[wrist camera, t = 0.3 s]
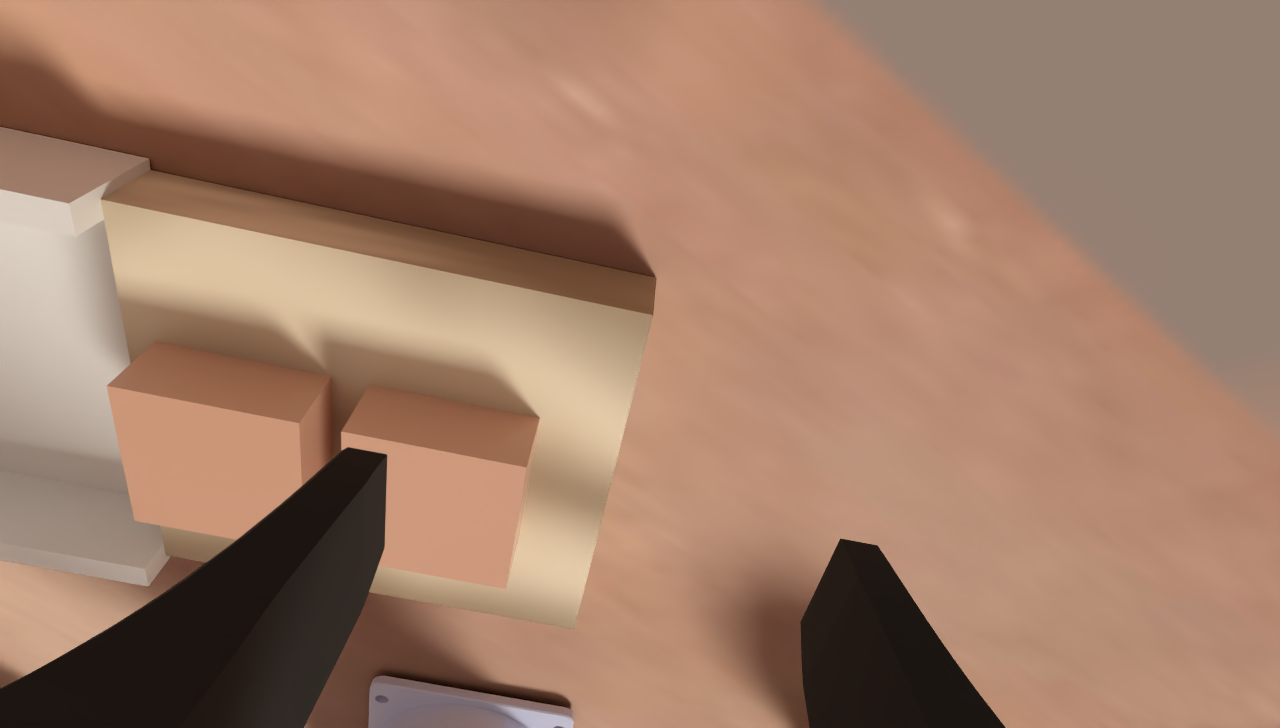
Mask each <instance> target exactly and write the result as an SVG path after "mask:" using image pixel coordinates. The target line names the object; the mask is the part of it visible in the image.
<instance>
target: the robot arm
mask: <svg viewBox="0 0 1280 728" xmlns="http://www.w3.org/2000/svg"><path fill="white" fill-rule="evenodd" d="M386 484H387V454H383V453H377V452H372V451H366V450H361V449H356V448H350V447H347V448H345V449H344V450H342V451H340V452H339V453H338V454H337V455H336V456H335V457H334V458H332V459H331V460H330V461H329V462H328V463H327V464H326V465H325V466H324V467H323V468H321V469H320V470H319V471H318V472H317V473H316V474H315V475H314V476H313V477H311V478H310V479H309V480H308V481H307V482H306V483H305V484H304V485H302V486H301V487H300V488H299V489H298V490H297V491H295V492H294V493H293V494H292V495H291V496H290V497H288V498H287V499H286V500H285V501H284V502H283V503H281V504H280V505H279V506H278V507H277V508H275V509H274V510H273V511H272V512H271V513H269V514H268V515H267V516H266V517H264V518H263V519H262V520H261V521H259V522H258V523H257V524H256V525H255V526H253V527H252V528H251V529H250V530H248V531H247V532H246V533H245V534H244V535H242V536H241V537H240V538H238V539H237V540H236V541H235V542H233V543H232V544H231V545H229V546H228V547H227V548H225V549H224V550H223V551H221V552H220V553H219V554H217V555H216V556H215V557H213V558H212V559H210V560H209V561H208V562H206V563H205V564H204V565H202V566H201V567H200V568H198V569H197V570H196V571H194V572H193V573H191V574H190V575H189V576H187V577H186V578H185V579H183V580H182V581H180V582H179V583H178V584H176V585H175V586H173V587H172V588H170V589H169V590H167V591H166V592H164V593H163V594H161V595H160V596H158V597H157V598H155V599H154V600H152V601H151V602H149V603H148V604H146V605H145V606H143V607H142V608H140V609H139V610H137V611H135V612H134V613H132V614H131V615H129V616H128V617H126V618H124V619H123V620H121V621H120V622H118V623H117V624H115V625H113V626H112V627H110V628H108V629H107V630H105V631H103V632H102V633H100V634H98V635H96V636H95V637H93V638H91V639H90V640H88V641H86V642H84V643H83V644H81V645H79V646H78V647H76V648H74V649H72V650H71V651H69V652H67V653H66V654H64V655H62V656H60V657H59V658H57V659H55V660H53V661H52V662H50V663H48V664H46V665H44V666H43V667H41V668H39V669H37V670H35V671H33V672H32V673H30V674H28V675H26V676H24V677H22V678H20V679H19V680H17V681H15V682H13V683H11V684H9V685H7V686H5V687H3V688H1V689H0V728H304V726H305V724H306V722H307V720H308V718H309V716H310V714H311V712H312V710H313V708H314V706H315V704H316V702H317V700H318V698H319V696H320V694H321V692H322V690H323V688H324V686H325V684H326V682H327V680H328V678H329V676H330V674H331V672H332V670H333V668H334V666H335V664H336V662H337V660H338V658H339V656H340V654H341V652H342V650H343V648H344V646H345V644H346V641H347V639H348V637H349V635H350V633H351V631H352V629H353V627H354V625H355V623H356V621H357V619H358V617H359V615H360V613H361V611H362V609H363V606H364V604H365V601H366V598H367V596H368V593H369V590H370V587H371V585H372V582H373V579H374V576H375V574H376V571H377V568H378V565H379V562H380V559H381V557H382V554H383V551H384V548H385V518H386ZM801 650H802V673H803V687H804V694H805V701H806V707H807V713H808V720H809V726H810V728H1005V726H1004V725H1003V724H1002V723H1001V721H1000V720H999V719H998V717H997V716H996V715H995V714H994V712H993V711H992V710H991V708H990V707H989V706H988V705H987V703H986V702H985V701H984V699H983V698H982V697H981V696H980V694H979V693H978V692H977V690H976V689H975V688H974V686H973V685H972V684H971V682H970V681H969V679H968V678H967V677H966V675H965V674H964V673H963V671H962V670H961V669H960V667H959V666H958V664H957V663H956V662H955V660H954V659H953V657H952V656H951V655H950V653H949V652H948V650H947V649H946V647H945V646H944V644H943V643H942V642H941V640H940V639H939V637H938V636H937V634H936V633H935V631H934V630H933V628H932V627H931V626H930V624H929V623H928V621H927V620H926V618H925V617H924V615H923V614H922V612H921V611H920V609H919V608H918V606H917V605H916V603H915V602H914V600H913V599H912V597H911V596H910V594H909V592H908V591H907V589H906V588H905V586H904V585H903V583H902V582H901V580H900V579H899V577H898V576H897V574H896V573H895V571H894V570H893V568H892V567H891V565H890V563H889V562H888V560H887V559H886V557H885V556H884V554H883V553H882V552H881V550H880V549H879V547H878V546H877V545H872V544H866V543H861V542H856V541H850V540H845V539H840V541H839V543H838V545H837V547H836V549H835V551H834V553H833V555H832V557H831V560H830V562H829V564H828V566H827V568H826V570H825V572H824V574H823V576H822V578H821V581H820V583H819V585H818V587H817V589H816V591H815V593H814V595H813V597H812V599H811V602H810V604H809V606H808V608H807V610H806V612H805V614H804V616H803V618H802V621H801ZM574 717H575V716H574V713H573V711H572V710H570V709H569V708H566V707H562V706H556V705H550V704H544V703H539V702H533V701H527V700H522V699H516V698H510V697H504V696H499V695H493V694H487V693H482V692H476V691H470V690H464V689H459V688H453V687H447V686H441V685H436V684H430V683H424V682H419V681H413V680H407V679H401V678H396V677H390V676H377V677H375V678H374V679H373V681H372V683H371V686H370V690H369V726H368V728H573V724H574Z"/></svg>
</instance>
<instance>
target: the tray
mask: <svg viewBox="0 0 1280 728" xmlns="http://www.w3.org/2000/svg"><path fill="white" fill-rule="evenodd" d="M150 170H151V169H150V162H149V158H145V157H140V156H135V155H131V154H126V153H121V152H116V151H112V150H107V149H102V148H98V147H93V146H88V145H84V144H79V143H74V142H70V141H65V140H60V139H56V138H51V137H46V136H42V135H37V134H32V133H28V132H23V131H18V130H14V129H9V128H4V127H0V560H2V561H7V562H13V563H19V564H24V565H30V566H35V567H41V568H47V569H52V570H58V571H63V572H69V573H75V574H80V575H86V576H91V577H97V578H103V579H108V580H114V581H119V582H125V583H131V584H136V585H142V586H147V587H149V585H150V584H151V583H152V581H153V580H154V579H155V577H156V576H157V575H158V573H159V572H160V570H161V569H162V568H163V566H164V565H165V564H166V562H167V561H168V560H169V558H170V557H171V556H167V555H166V554H165V549H164V543H163V538H162V532H161V527H160V525H154V524H149V523H143V522H138V521H135V520H134V516H133V511H132V506H131V501H130V496H129V491H128V487H127V482H126V477H125V472H124V467H123V463H122V458H121V453H120V448H119V443H118V439H117V434H116V429H115V424H114V419H113V414H112V410H111V405H110V400H109V395H108V390H107V385H108V384H109V383H110V382H111V381H112V380H113V379H115V378H116V377H117V376H118V375H119V374H120V373H121V372H122V371H123V370H124V369H126V368H127V367H128V366H129V365H130V364H131V363H130V358H129V353H128V347H127V342H126V336H125V331H124V325H123V320H122V314H121V309H120V303H119V298H118V293H117V287H116V282H115V276H114V271H113V265H112V260H111V254H110V249H109V244H108V238H107V233H106V227H105V222H104V216H103V211H102V205H101V200H100V199H102V198H104V197H105V196H107V195H109V194H110V193H112V192H114V191H116V190H117V189H119V188H121V187H122V186H124V185H126V184H127V183H129V182H131V181H133V180H134V179H136V178H138V177H139V176H141V175H143V174H145V173H146V172H148V171H150Z"/></svg>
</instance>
